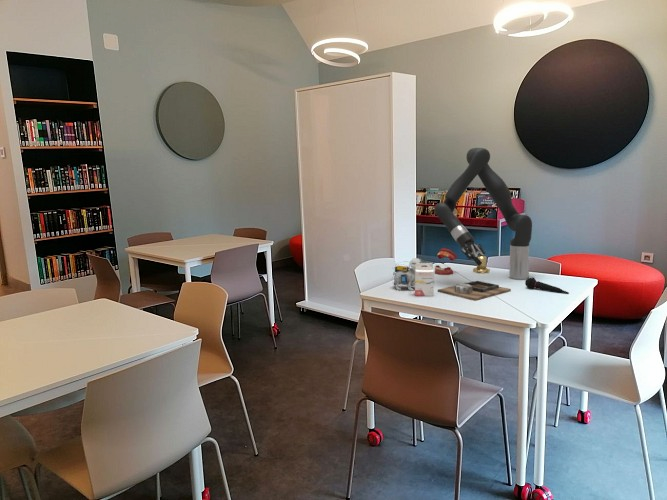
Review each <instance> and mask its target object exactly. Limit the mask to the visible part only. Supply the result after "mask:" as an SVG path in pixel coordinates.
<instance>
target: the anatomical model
mask: <svg viewBox="0 0 667 500" xmlns="http://www.w3.org/2000/svg"><path fill="white" fill-rule="evenodd" d="M447 257H448V259H449V260H450V261H454V260H457V258H458V255H457V254H456V253H455V252H454V251H452V250H451V249H448V248H445V247H442V248H441V249H440V250H439V252H438V253H437V258H438V259H439V260H442V259H445V258H447ZM453 274H454V271H453V269H452V268H451V267H450V266H447V267H444V268H442V267H441V266H440V265H437V264H436V266H435V267H434V275H440V276H450V275H451V276H452V275H453Z"/></svg>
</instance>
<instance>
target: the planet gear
mask: <svg viewBox="0 0 667 500" xmlns="http://www.w3.org/2000/svg"><path fill="white" fill-rule="evenodd" d="M477 257H478V258H479V260H480V261H481V262H482V264H481V265H480V266H478V265H477V264H476V267H474V268H472V273H475V274H482V275H484V274H489V273H491V268H488V267H487V263H486V261H488V260H487V258H488V257H487V256H486V255H484V256H477Z"/></svg>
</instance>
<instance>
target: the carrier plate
mask: <svg viewBox="0 0 667 500" xmlns="http://www.w3.org/2000/svg"><path fill="white" fill-rule="evenodd" d="M511 290H512V289H511V288H508V287H502V286H500V285H499V284H494V283H490V282H485V281H480V280H475V281H473V280H472V281H468V282H465V283H457V284H455V285H451V286H447V287H443V288H439V289H437V292H438V293H440V294H441V293H442V294H445V295H450V296H453V297H454V296H455V297H458V298H463V299H466V300H471V301H475V302H476V301H479V300H482V299H483V300H484V299H486V298H491V297H494V296H497V295H501V294H505V293H509V292H511Z"/></svg>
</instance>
